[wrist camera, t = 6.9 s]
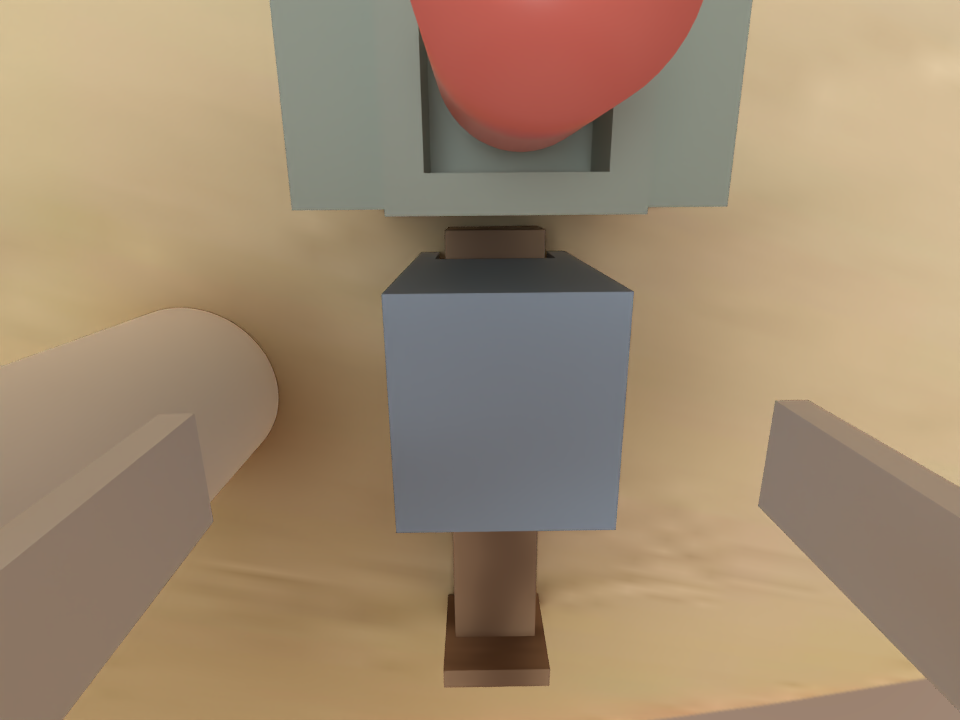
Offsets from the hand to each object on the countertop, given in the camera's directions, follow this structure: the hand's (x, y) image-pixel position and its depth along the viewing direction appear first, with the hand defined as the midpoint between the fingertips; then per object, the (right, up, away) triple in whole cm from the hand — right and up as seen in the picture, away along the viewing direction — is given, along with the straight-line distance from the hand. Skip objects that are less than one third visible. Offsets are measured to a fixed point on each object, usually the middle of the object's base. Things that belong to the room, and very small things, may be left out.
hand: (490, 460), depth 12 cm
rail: (0, -2, +15) cm, 15 cm away
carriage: (0, +4, +13) cm, 14 cm away
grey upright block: (0, +12, +11) cm, 16 cm away
